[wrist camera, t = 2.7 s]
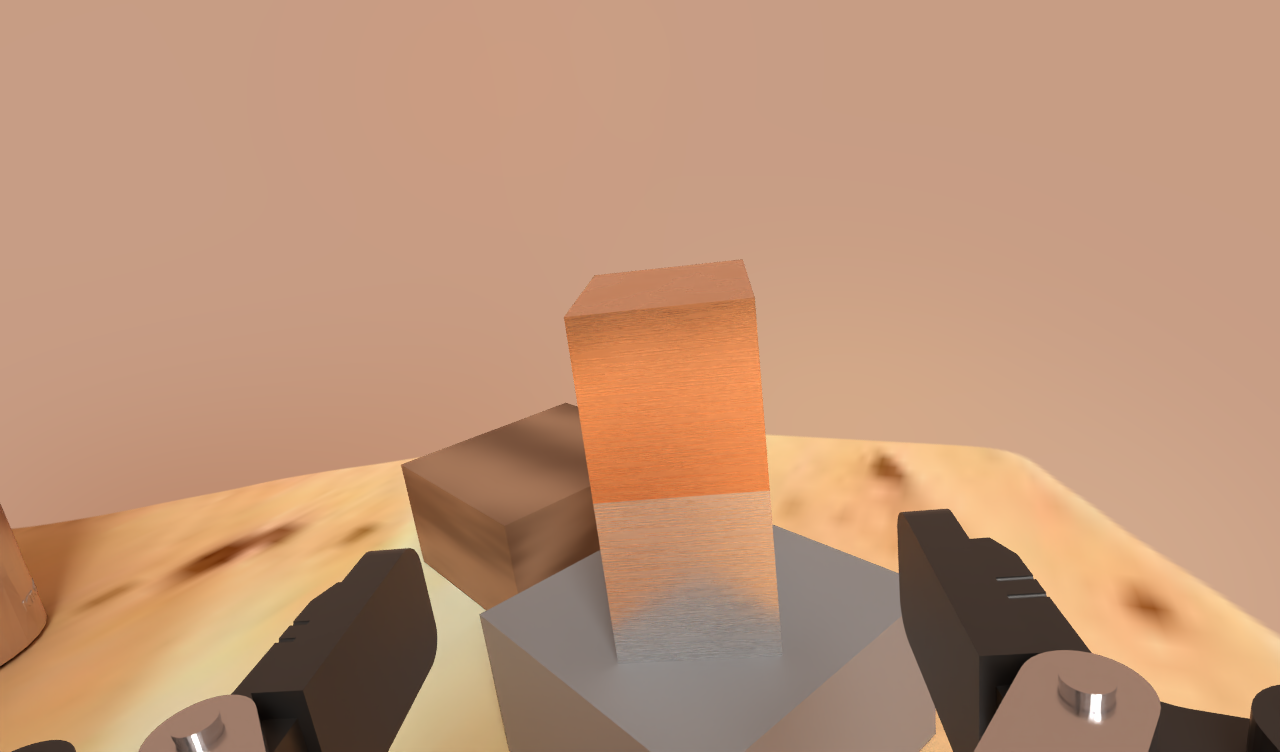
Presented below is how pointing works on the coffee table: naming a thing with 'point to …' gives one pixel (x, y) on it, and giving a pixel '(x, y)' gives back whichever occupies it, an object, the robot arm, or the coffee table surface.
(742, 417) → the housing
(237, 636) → the coffee table surface
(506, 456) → the stand
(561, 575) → the stand
